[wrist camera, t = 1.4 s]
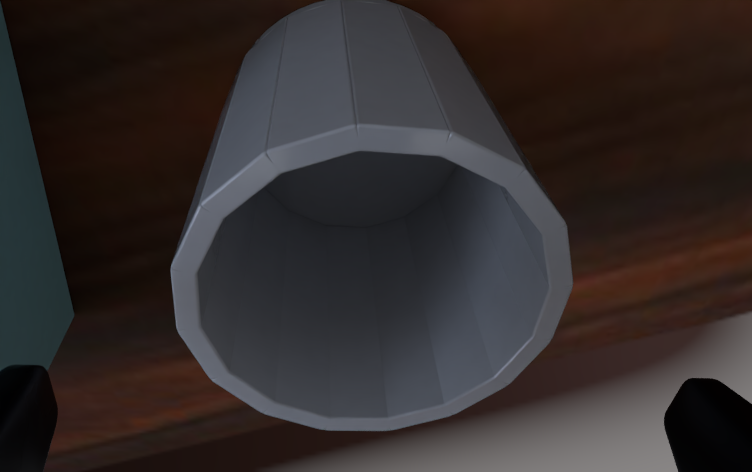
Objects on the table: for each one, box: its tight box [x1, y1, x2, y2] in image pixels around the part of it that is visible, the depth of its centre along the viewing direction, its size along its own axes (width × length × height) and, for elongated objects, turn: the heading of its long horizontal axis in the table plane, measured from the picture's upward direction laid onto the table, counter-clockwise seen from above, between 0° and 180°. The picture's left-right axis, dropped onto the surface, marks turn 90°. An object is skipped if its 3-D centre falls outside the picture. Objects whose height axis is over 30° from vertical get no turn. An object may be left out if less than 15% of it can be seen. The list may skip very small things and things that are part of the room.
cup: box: [170, 0, 573, 431], centre depth 12 cm, size 6×6×7 cm
